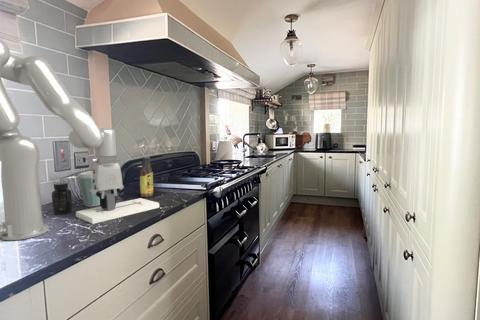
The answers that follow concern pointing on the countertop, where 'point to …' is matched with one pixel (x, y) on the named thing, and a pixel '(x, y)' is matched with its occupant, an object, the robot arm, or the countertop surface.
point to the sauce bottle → (146, 178)
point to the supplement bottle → (61, 199)
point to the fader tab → (110, 201)
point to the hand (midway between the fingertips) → (108, 206)
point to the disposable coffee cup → (87, 189)
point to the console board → (116, 210)
